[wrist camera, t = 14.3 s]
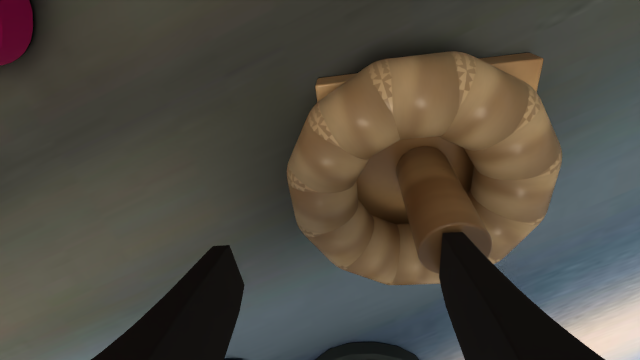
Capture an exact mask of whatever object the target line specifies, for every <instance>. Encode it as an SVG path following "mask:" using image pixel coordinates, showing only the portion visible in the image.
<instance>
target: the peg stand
mask: <svg viewBox="0 0 640 360" xmlns="http://www.w3.org/2000/svg"><path fill="white" fill-rule="evenodd" d="M480 60H482V61H484V62H486V63H488V64H490V65H492V66H494V67H496V68H498V69H500V70H502V71H504V72H506V73H508V74H510V75H512V76H514V77H516V78H519V79H521V80H523V81H524V82H526V83H528V84H529V85H530V86H531V87H532V88H533V89H534V90H535V91H536V92H537V87H538V83H539V78H540V73H541V69H542V64H543V58H541V57H539V56H536V55H534V54H531V53H521V54H513V55H504V56H496V57H488V58H480ZM356 74H357V73H356ZM356 74H348V75H340V76H332V77H323V78H318V79H317V82H316V86H315V89H316V96H317V103H318V102H319V101H320V100H321V99H323V98H324V97H325V96H327V95H328V94H330V93H331V92H332V91H334V90H335V89H336V88H338V87H339V86H341V85H342V84H343V83H345V82H346V81H347V80H349V79H350V78H352V77H353V76H354V75H356ZM473 169H474V165H473V163H472V161H471V160H470V158H469V156H468V155H467V153H466V151H465V149H464V148H463V147H460V146H458V145H456V144H454V143H451V142H449V141H447V140H444V139H442V138H440V137H438V136H437V137H425V138H414V139H402V140H399V141H397V142H396V143H394V144H392V145H391V146H389V147H387V148H386V149H384V150H382V151H381V152H379V153H377V154H376V155H374V156H372V157H371V158H369V160H368V162H367V163H366V165H365V167H364V169H363V170H362V172H361V174H360V176H359V177H358V179H357V193H358V200H359V201H360V202H361V204H362V205H363V206H364V207H365V208H366V210H367V211H368V212H369V213H370V214H371V215H373V216H375V217H378V218H380V219H383V220H386V221H388V222H391V223H394V224H403V223H409V224H410V228H411V232H412V236H413V239H414V243H415V247H416V251H417V255H418V258H419V260H420V262H421V263H422V264H423V266H424V267H426V268H427V269H428V270H430V271H432V272H434V273H437V274H439V271H440V258H441V246H442V234H443V233H451V232H463V233H464V234H465V235H466V236H467V237H468V238H469V239H470V240H471V241H472V242H473V243H474V244H475V245H476V247H477V248H478V249H479V250H480V251H481V252H482V253H483V254H484V255H485V256H486V257H487V258H488V257H489V255H490V253H491V250H492V239H491V236H490V234H489V232H488V231H487V229H486V227H485V225H484V223H483V222H482V220H481V218H480V216H479V215H478V213H477V211H476V209H475V207H474V206H473V204H472V202H471V200H470V199H469V197H468V195H467V192H468V190H469V189H470V188H471V184H472V176H473Z"/></svg>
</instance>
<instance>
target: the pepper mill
mask: <svg viewBox="0 0 640 360" xmlns="http://www.w3.org/2000/svg"><path fill="white" fill-rule="evenodd" d="M32 32H33V13H32V7H31V4H30V1H29V0H0V66H1V65H5V64H8V63H11V62H13V61H15V60H16V59H18V58H19V57H20V56H21V55H22V54H23V53H24V52H25V51H26V49H27V47H28V45H29V43H30V42H31V37H32Z"/></svg>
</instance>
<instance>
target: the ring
mask: <svg viewBox="0 0 640 360" xmlns="http://www.w3.org/2000/svg"><path fill="white" fill-rule="evenodd" d="M437 136H438V137H440V138H442V139H444V140H447V141H449V142H451V143H454V144H456V145H458V146H460V147H463V148H464V149H465V151H466V153H467V155H468V156H469V158H470V160H471V161H472V163H473V165H474V169H473V176H472V184H471V188H470V189H469V190H468V192H467V195H468V197H469V199H470V200H471V202H472V204H473V206H474V207H475V209H476V211H477V213H478V215H479V216H480V218H481V220H482V222H483V223H484V225H485V227H486V229H487V231H488V232H489V234H490V236H491V239H492V250H491V253H490V255H489V257H488V259H489V260H490V261H491V262H492V263H493V264H495V263H497V262H499V261H500V260H501V259H503V258H504V257H505V256H506V255H507V254H508V253H509V252H510V251H511V250H512V249H514V248H515V247H516V246H517V245H518V244H519V243H520V242H521V241H522V240H523V239H524V238H525V237H526V236H527V235H528V234H529V233H530V232H531V231H532V230H533V229H534V228H535V227H537V226H538V225H539V223H540V222H541V221H542V220H543V219H544V217H545V215H546V213H547V210H548V207H549V203H550V200H551V197H552V193H553V190H554V187H555V183H556V180H557V176H558V173H559V170H560V166H561V163H562V150H561V146H560V143H559V141H558V139H557V136H556V134H555V132H554V129H553V127H552V125H551V122H550V120H549V118H548V115H547V113H546V111H545V108H544V106H543V104H542V101H541V99H540V97H539V96H538V94H537V92H536V91H535V90H534V89H533V88H532V87H531V86H530V85H529V84H528V83H526V82H524V81H523V80H521V79H519V78H516V77H514V76H512V75H510V74H508V73H506V72H504V71H502V70H500V69H498V68H496V67H494V66H492V65H490V64H488V63H486V62H484V61H482V60H480V59H478V58H476V57H474V56H472V55H469V54H466V53H463V52H457V51H448V52H440V53H431V54H423V55H414V56H406V57H398V58H389V59H383V60H379V61H376V62H373V63H372V64H370V65H368V66H367V67H365V68H364V69H363V70H361V71H360V72H358V73H357V74H356V75H354V76H353V77H352V78H350V79H349V80H347V81H346V82H345V83H343V84H342V85H341V86H339V87H338V88H336V89H335V90H334V91H332V92H331V93H330V94H328V95H327V96H325V97H324V98H323V99H321V100H320V101H319V102H318V103H316V104H315V105H314V107H313V108H312V109H311V111H310V113H309V115H308V116H307V119H306V121H305V124H304V126H303V128H302V131H301V133H300V136H299V138H298V140H297V143H296V145H295V147H294V150H293V152H292V155H291V157H290V159H289V162H288V166H287V180H288V185H289V190H290V194H291V199H292V204H293V208H294V213H295V218H296V221H297V224H298V227H299V228H300V230H301V231H302V233H303V234H304V235H305V236H306V237H307V238H308V239H309V240H310V241H311V242H312V243H313V244H314V245H315V246H316V247H317V248H318V249H319V250H320V251H321V252H322V253H323V254H324V255H325V256H326V257H327V258H328V259H329V260H330V261H331V262H332V263H333V264H334V265H336V266H337V267H339V268H341V269H343V270H345V271H348V272H351V273H354V274H357V275H360V276H363V277H366V278H369V279H371V280H374V281H377V282H380V283H383V284H387V285H414V284H440V279H439V274H437V273H434V272H432V271H430V270H428V269H427V268H426V267H424V266H423V264H422V263H421V262H420V260H419V258H418V255H417V251H416V247H415V243H414V239H413V236H412V232H411V228H410V224H409V223H403V224H394V223H391V222H388V221H386V220H383V219H380V218H378V217H375V216H373V215H371V214H370V213H369V212H368V211H367V210H366V208H365V207H364V206H363V205H362V204H361V202H360V201H359V200H358V193H357V179H358V177H359V176H360V174H361V172H362V170H363V169H364V167H365V165H366V163H367V162H368V160H369V158H371V157H372V156H374V155H376V154H377V153H379V152H381V151H382V150H384V149H386V148H387V147H389V146H391V145H392V144H394V143H396V142H397V141H399V140H402V139H414V138H425V137H437Z"/></svg>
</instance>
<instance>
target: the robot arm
mask: <svg viewBox="0 0 640 360" xmlns="http://www.w3.org/2000/svg"><path fill="white" fill-rule="evenodd" d="M439 279H440V284H441V288H442V292H443V296H444V300H445V304H446V308H447V311H448V314H449V317H450V319H451V322H452V325H453V328H454V331H455V333H456V336H457V339H458V342H459V344H460V347H461V350H462V352H463V355H464V358H465V360H605V359H603V358H602V357H601V356H599V355H598V354H597V353H595V352H594V351H593V350H591V349H590V348H588V347H587V346H586V345H584V344H583V343H582V342H580V341H579V340H578V339H577V338H575V337H574V336H573V335H572V334H570V333H569V332H568V331H567V330H565V329H564V328H563V327H561V326H560V325H559V324H558V323H557V322H555V321H554V320H553V319H552V318H551V317H549V316H548V315H547V314H546V313H545V312H544V311H542V310H541V309H540V308H539V307H538V306H537V305H536V304H534V303H533V302H532V301H531V300H530V299H529V298H528V297H527V296H526V295H524V294H523V293H522V292H521V291H520V290H519V289H518V288H517V287H516V286H515V285H514V284H513V283H512V282H511V281H510V280H509V279H508V278H507V277H506V276H505V275H504V274H503V273H501V272H500V271H499V270H498V269H497V268H496V267H495V265H494V264H493V263H492V262H491V261H490V260H489V259H488V258H487V257H486V256H485V255H484V254H483V253H482V252H481V251H480V250H479V249H478V248H477V247H476V245H475V244H474V243H473V242H472V241H471V240H470V239H469V238H468V237H467V236H466V235H465V234H464V233H463V232H451V233H443V234H442V246H441V258H440V271H439ZM243 290H244V282H243V280H242V277H241V275H240V272H239V269H238V267H237V264H236V261H235V259H234V256H233V253H232V251H231V248H230V246H229V245H226V246H213V247H212V248H211V249H210V250H209V251H208V252H207V253H206V254H205V255H204V256H203V257H202V258H201V259H200V260H199V261H198V262H197V263H196V264H195V265H194V266H193V267H192V268H191V269H190V270H189V271H188V273H187V274H186V275H185V276H184V277H183V278H182V279H181V280H180V281H179V282H178V283H177V284H176V285H175V286H174V287H173V288H172V289H171V290H170V291H169V292H168V293H167V294H166V295H165V296H164V297H163V298H162V299H161V300H160V301H159V302H158V303H157V304H156V305H154V306H153V307H152V308H151V309H150V310H149V311H148V312H147V313H146V314H145V315H144V316H143V317H142V318H141V319H140V320H139V321H137V322H136V323H135V324H134V325H133V326H132V327H131V328H130V329H128V330H127V331H126V332H125V333H124V334H123V335H121V336H120V337H119V338H118V339H117V340H115V341H114V342H113V343H112V344H111V345H109V346H108V347H107V348H106V349H104V350H103V351H102V352H101V353H99V354H98V355H97V356H95V357H94V358H93V359H91V360H224V357H225V354H226V351H227V348H228V345H229V342H230V339H231V336H232V333H233V330H234V327H235V324H236V321H237V318H238V315H239V311H240V306H241V301H242V296H243Z"/></svg>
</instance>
